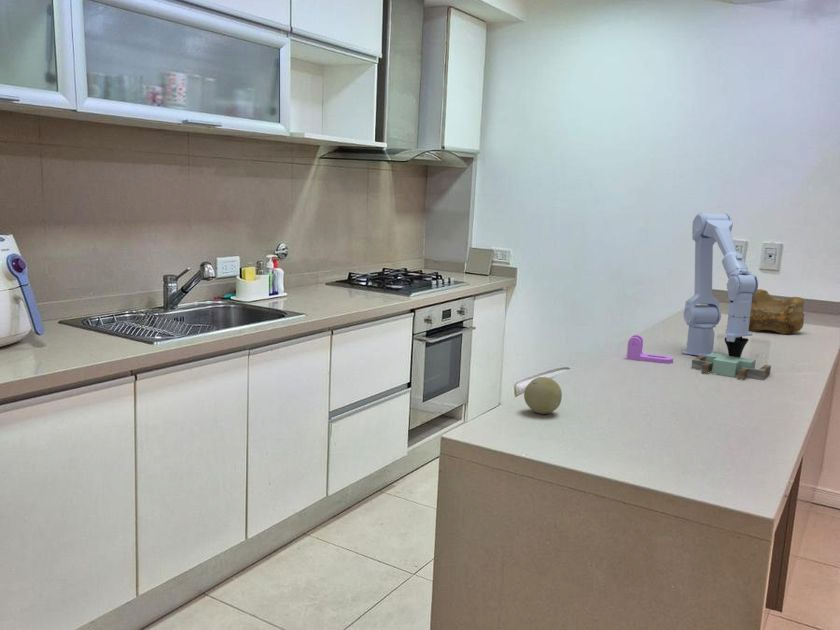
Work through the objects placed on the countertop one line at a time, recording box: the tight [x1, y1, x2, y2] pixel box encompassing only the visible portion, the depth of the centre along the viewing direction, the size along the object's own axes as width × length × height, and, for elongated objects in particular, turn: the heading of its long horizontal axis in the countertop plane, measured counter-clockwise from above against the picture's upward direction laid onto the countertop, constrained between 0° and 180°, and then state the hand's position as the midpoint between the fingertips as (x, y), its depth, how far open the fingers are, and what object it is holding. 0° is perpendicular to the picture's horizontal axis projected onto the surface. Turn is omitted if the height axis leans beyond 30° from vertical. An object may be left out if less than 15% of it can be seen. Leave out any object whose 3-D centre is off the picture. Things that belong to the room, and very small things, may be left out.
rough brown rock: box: [748, 288, 805, 335], centre depth 268 cm, size 23×17×15 cm
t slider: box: [706, 353, 757, 378], centre depth 199 cm, size 9×12×4 cm
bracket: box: [626, 334, 674, 365], centre depth 212 cm, size 13×6×7 cm, turn 66°
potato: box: [523, 376, 563, 415], centre depth 156 cm, size 8×8×8 cm
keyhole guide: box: [691, 355, 772, 381], centre depth 200 cm, size 13×19×2 cm
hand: (733, 362), depth 204 cm, fingers closed
